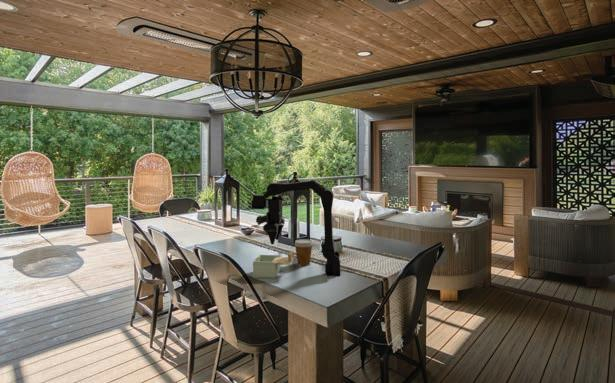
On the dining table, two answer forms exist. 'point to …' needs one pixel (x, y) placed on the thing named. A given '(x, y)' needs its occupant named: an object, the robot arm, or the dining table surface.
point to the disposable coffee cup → (303, 251)
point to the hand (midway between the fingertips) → (274, 241)
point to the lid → (284, 259)
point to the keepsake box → (265, 267)
